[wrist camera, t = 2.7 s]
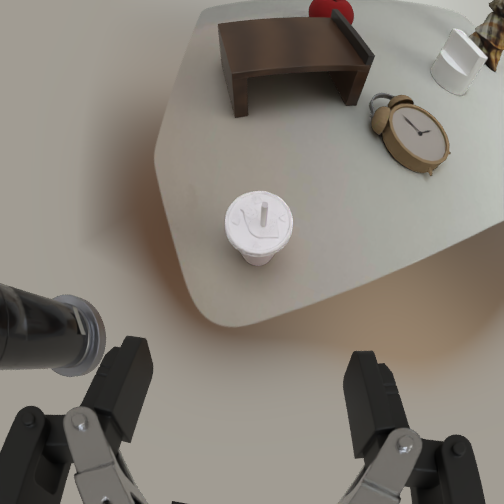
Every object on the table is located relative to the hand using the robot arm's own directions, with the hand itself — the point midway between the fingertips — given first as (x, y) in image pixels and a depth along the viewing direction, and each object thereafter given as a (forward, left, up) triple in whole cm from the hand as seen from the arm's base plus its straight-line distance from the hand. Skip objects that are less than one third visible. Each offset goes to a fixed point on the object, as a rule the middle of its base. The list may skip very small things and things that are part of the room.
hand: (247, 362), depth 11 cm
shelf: (+14, +39, -24) cm, 48 cm away
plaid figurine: (+76, +55, -24) cm, 97 cm away
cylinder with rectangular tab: (+51, +40, -24) cm, 69 cm away
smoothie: (+3, +11, -24) cm, 27 cm away
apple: (+28, +56, -24) cm, 67 cm away
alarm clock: (+30, +25, -24) cm, 46 cm away
